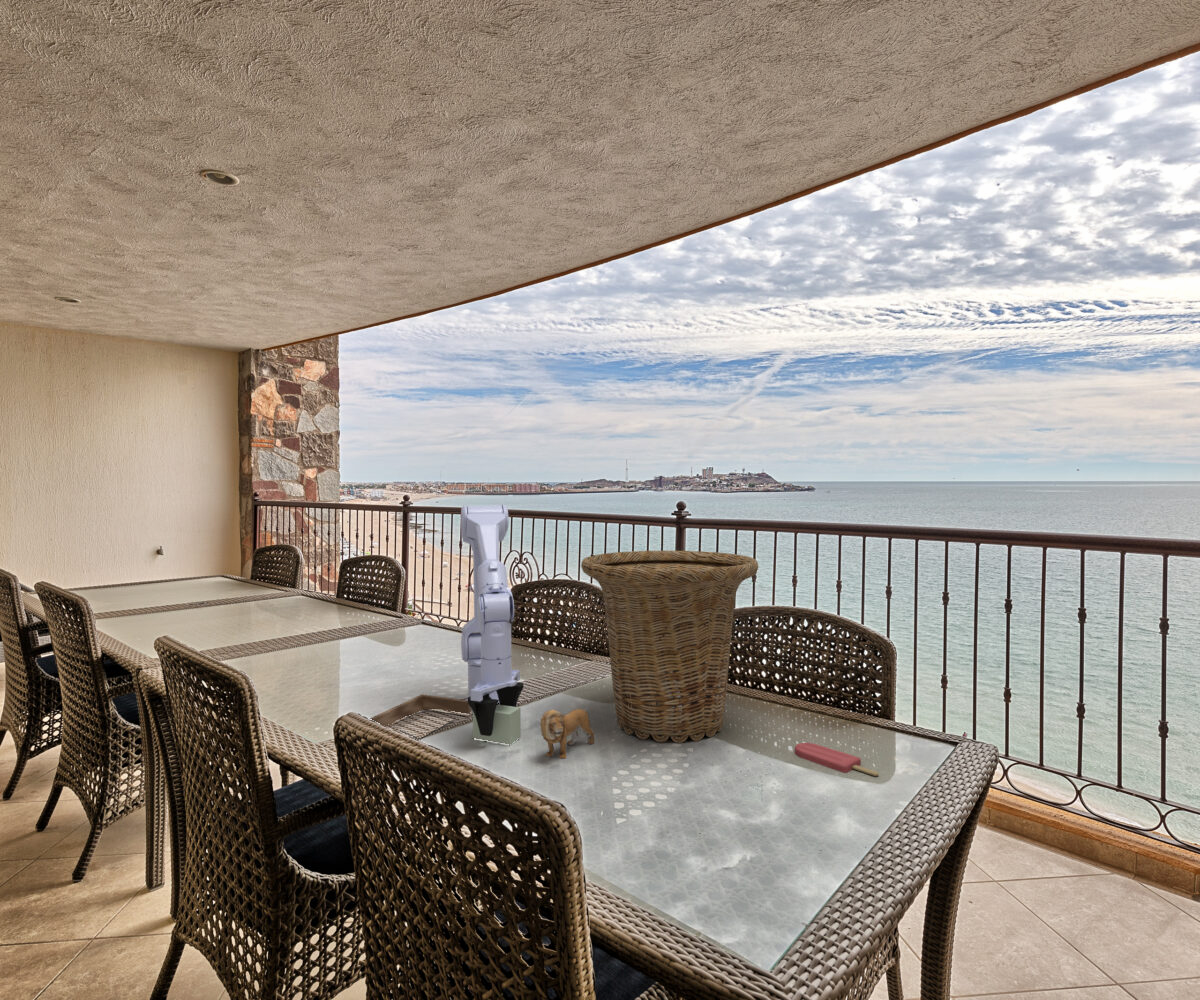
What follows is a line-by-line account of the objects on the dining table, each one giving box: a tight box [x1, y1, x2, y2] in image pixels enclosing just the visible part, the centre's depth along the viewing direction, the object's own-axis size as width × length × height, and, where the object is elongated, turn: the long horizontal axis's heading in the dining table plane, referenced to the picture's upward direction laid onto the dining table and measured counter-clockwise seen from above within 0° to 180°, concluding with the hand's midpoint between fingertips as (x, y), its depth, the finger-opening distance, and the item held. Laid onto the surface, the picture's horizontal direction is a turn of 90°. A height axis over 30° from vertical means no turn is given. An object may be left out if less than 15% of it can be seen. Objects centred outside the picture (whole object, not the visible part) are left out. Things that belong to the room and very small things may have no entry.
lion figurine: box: [539, 708, 595, 760], centre depth 120 cm, size 15×5×9 cm, turn 151°
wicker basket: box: [580, 550, 759, 744], centre depth 133 cm, size 35×35×33 cm
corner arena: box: [369, 693, 472, 740], centre depth 134 cm, size 16×12×3 cm
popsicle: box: [794, 742, 879, 777], centre depth 114 cm, size 5×2×15 cm
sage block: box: [472, 704, 522, 745], centre depth 125 cm, size 4×8×6 cm, turn 68°
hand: (496, 727), depth 125 cm, fingers open, 7 cm apart
